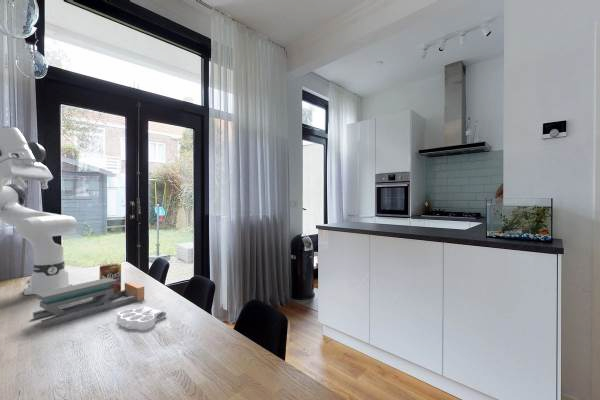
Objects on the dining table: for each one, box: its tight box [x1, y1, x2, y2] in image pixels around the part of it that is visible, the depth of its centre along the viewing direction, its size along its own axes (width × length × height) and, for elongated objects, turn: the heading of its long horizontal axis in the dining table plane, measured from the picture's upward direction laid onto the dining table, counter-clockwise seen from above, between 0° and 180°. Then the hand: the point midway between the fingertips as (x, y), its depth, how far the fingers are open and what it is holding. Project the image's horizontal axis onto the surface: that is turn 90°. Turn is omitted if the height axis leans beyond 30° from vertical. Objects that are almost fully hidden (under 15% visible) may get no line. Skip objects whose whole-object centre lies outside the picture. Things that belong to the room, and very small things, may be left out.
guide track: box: [32, 289, 139, 329], centre depth 117 cm, size 14×33×2 cm, turn 144°
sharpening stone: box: [35, 278, 116, 316], centre depth 114 cm, size 25×8×11 cm, turn 148°
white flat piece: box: [115, 305, 167, 331], centre depth 105 cm, size 3×18×15 cm
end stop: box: [124, 281, 145, 302], centre depth 131 cm, size 14×3×6 cm, turn 54°
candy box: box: [98, 262, 122, 292], centre depth 134 cm, size 9×4×15 cm, turn 123°
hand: (35, 187), depth 119 cm, fingers open, 8 cm apart
